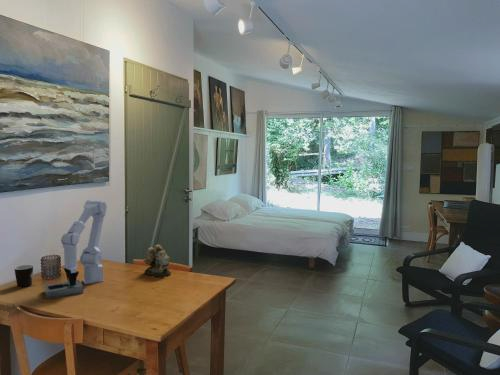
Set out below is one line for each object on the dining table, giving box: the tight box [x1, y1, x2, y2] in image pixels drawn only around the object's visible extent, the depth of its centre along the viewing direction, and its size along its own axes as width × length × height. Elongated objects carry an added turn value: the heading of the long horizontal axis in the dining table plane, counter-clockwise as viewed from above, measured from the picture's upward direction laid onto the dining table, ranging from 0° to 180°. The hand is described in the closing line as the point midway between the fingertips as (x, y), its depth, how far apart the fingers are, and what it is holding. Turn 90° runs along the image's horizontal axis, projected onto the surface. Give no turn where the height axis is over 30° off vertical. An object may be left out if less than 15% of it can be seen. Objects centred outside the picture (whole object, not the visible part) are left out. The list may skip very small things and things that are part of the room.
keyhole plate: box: [44, 279, 84, 300], centre depth 194 cm, size 16×12×3 cm
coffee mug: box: [14, 264, 34, 289], centre depth 204 cm, size 12×9×10 cm
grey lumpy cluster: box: [143, 244, 172, 278], centre depth 226 cm, size 18×12×17 cm, turn 65°
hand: (71, 283), depth 196 cm, fingers open, 7 cm apart
